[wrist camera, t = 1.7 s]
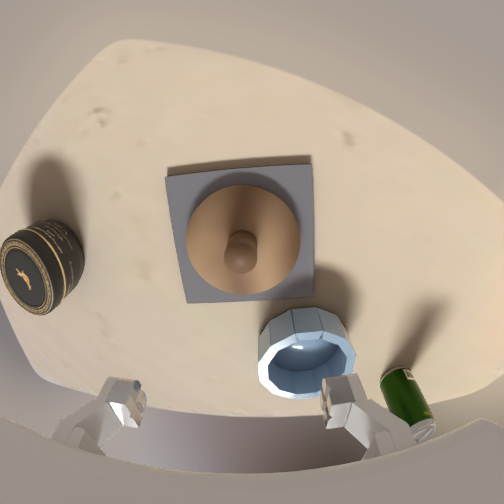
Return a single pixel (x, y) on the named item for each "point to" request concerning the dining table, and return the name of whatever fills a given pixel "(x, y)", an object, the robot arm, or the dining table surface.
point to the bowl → (303, 352)
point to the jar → (41, 265)
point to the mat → (268, 177)
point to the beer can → (407, 402)
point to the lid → (243, 239)
